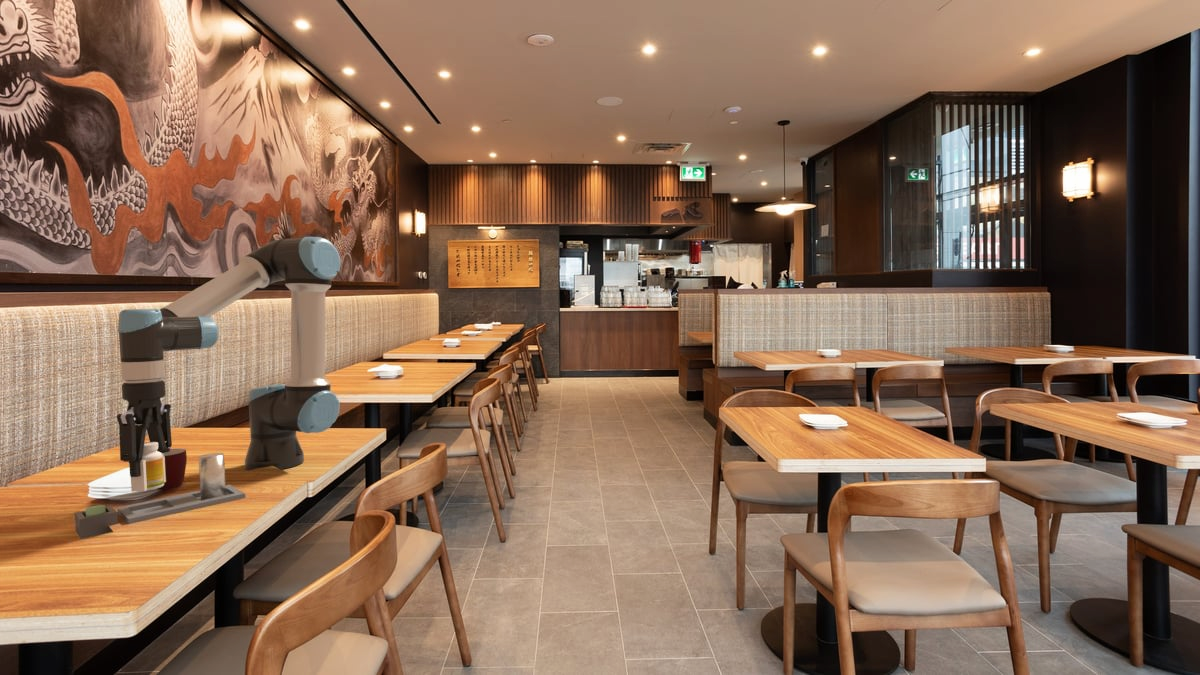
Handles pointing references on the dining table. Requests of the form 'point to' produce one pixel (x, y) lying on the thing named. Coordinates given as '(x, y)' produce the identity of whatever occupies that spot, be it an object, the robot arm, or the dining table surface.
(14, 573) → the dining table surface
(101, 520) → the grey square holder
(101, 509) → the light green egg
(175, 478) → the mug
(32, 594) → the dining table surface
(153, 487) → the supplement bottle
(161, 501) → the grey slotted tray
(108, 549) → the dining table surface
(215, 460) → the seated billet
